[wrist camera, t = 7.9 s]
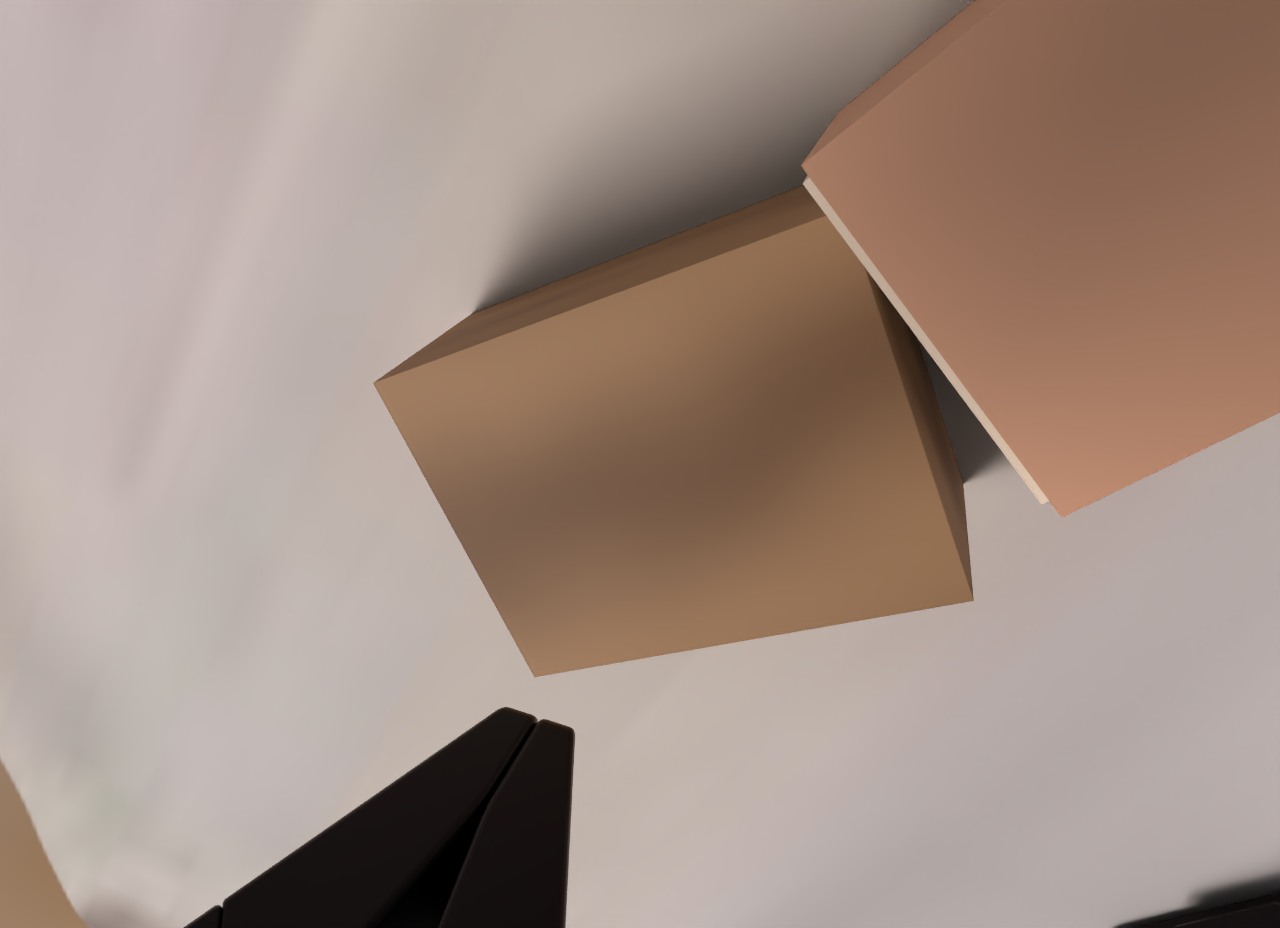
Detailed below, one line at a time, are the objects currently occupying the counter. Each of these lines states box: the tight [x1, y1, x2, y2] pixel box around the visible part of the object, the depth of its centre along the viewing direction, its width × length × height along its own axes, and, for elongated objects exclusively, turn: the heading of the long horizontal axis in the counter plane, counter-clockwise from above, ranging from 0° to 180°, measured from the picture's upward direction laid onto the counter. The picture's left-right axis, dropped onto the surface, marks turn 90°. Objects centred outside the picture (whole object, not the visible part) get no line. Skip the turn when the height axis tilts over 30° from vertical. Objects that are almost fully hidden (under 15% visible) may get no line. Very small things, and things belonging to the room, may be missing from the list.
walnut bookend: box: [373, 185, 974, 677], centre depth 18 cm, size 7×9×4 cm
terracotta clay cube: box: [801, 0, 1280, 517], centre depth 13 cm, size 6×5×6 cm
